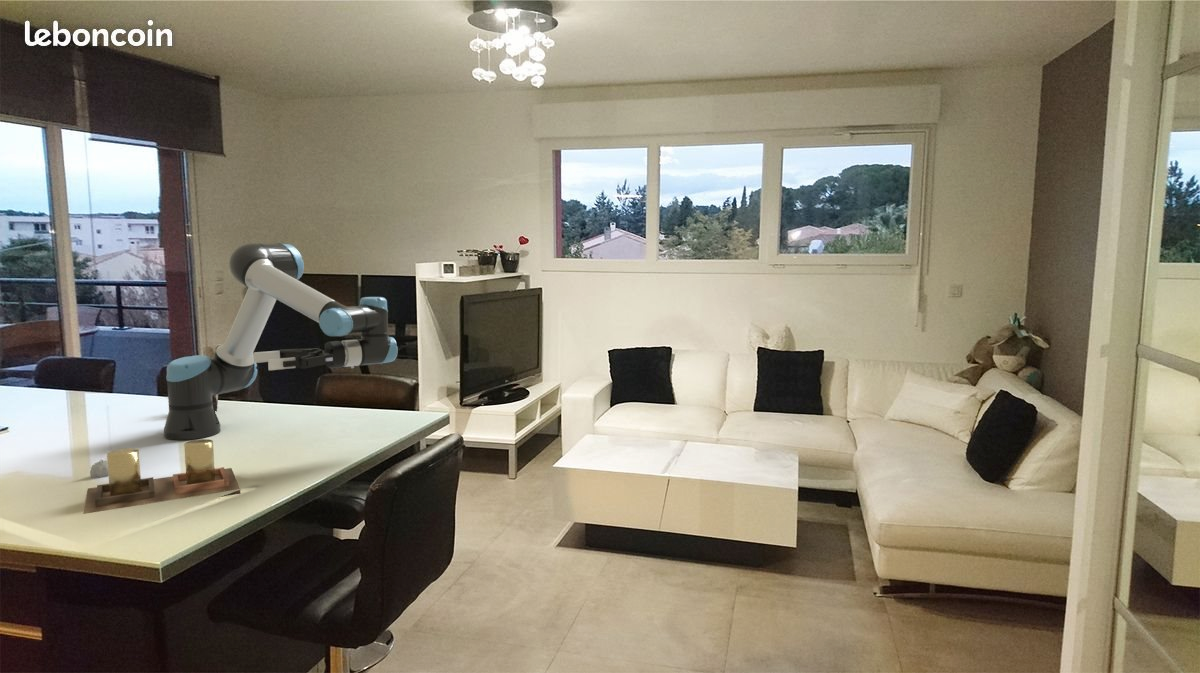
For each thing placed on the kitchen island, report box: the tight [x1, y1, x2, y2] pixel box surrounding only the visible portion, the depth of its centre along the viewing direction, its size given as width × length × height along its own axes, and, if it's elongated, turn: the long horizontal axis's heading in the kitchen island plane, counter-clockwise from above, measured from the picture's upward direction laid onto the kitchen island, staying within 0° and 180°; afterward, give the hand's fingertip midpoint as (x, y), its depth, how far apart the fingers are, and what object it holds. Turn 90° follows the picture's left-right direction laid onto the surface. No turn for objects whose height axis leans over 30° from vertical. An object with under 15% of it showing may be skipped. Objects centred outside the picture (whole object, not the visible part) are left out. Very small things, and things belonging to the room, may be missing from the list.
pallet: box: [83, 466, 241, 515], centre depth 166 cm, size 30×18×3 cm, turn 123°
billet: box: [106, 447, 142, 496], centre depth 161 cm, size 6×6×10 cm
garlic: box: [89, 459, 109, 478], centre depth 175 cm, size 6×5×5 cm
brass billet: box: [183, 438, 215, 485], centre depth 169 cm, size 6×6×10 cm
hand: (260, 361), depth 185 cm, fingers open, 13 cm apart
